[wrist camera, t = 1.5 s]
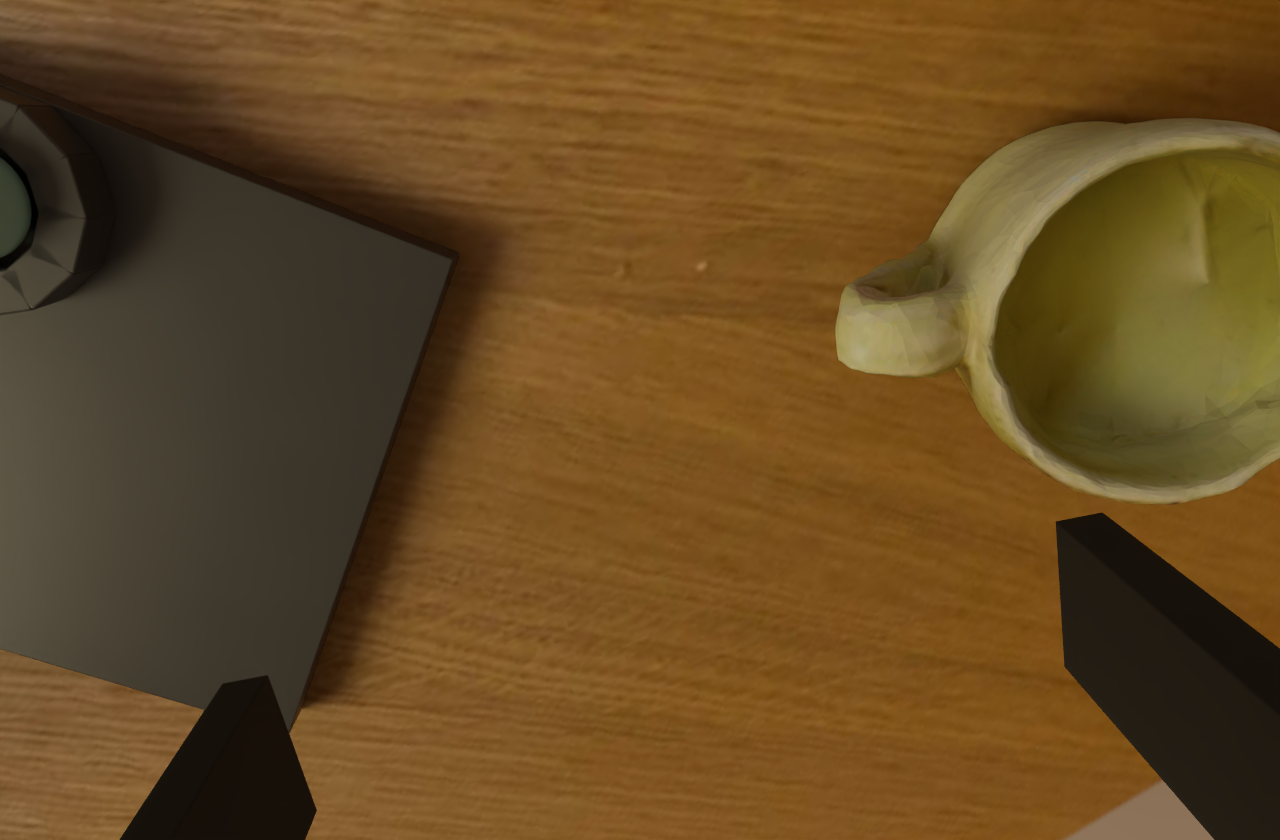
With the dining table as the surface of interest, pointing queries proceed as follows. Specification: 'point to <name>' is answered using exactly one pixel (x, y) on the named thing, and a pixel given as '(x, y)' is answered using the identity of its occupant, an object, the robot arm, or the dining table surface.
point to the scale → (190, 405)
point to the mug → (1101, 305)
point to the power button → (12, 209)
